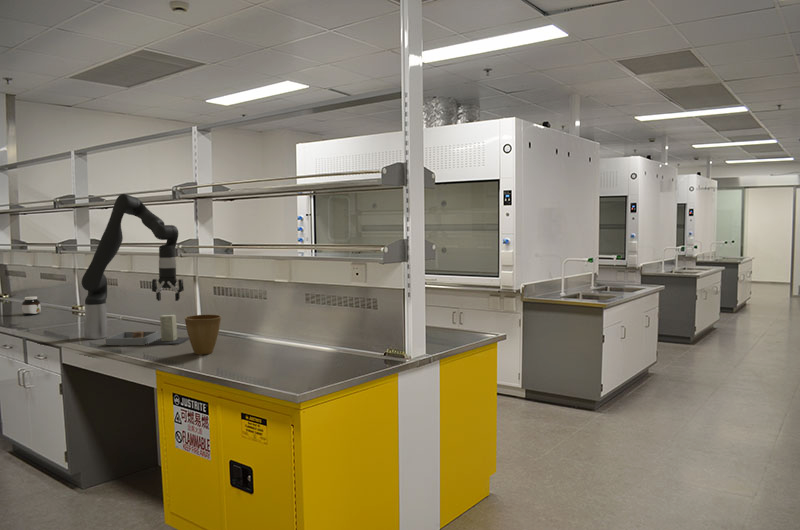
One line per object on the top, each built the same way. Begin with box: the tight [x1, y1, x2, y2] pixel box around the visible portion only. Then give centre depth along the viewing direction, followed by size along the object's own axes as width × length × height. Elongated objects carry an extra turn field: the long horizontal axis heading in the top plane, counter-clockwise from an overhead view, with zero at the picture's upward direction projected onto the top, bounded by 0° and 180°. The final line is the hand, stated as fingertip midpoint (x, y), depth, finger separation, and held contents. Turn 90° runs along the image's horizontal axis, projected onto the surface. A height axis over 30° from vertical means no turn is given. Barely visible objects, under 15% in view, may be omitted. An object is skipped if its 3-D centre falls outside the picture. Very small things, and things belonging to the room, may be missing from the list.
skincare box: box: [159, 314, 178, 341], centre depth 268 cm, size 6×4×12 cm
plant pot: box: [184, 314, 222, 356], centre depth 243 cm, size 15×15×16 cm
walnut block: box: [132, 330, 144, 338], centre depth 274 cm, size 4×4×4 cm
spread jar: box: [21, 296, 42, 317], centre depth 362 cm, size 12×11×12 cm
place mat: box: [148, 336, 189, 346], centre depth 268 cm, size 14×14×1 cm
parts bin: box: [105, 330, 161, 346], centre depth 269 cm, size 18×18×4 cm
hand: (168, 300), depth 267 cm, fingers open, 8 cm apart
